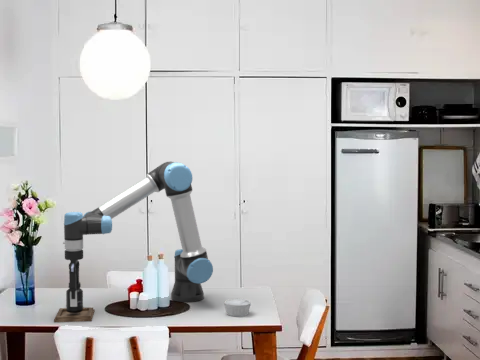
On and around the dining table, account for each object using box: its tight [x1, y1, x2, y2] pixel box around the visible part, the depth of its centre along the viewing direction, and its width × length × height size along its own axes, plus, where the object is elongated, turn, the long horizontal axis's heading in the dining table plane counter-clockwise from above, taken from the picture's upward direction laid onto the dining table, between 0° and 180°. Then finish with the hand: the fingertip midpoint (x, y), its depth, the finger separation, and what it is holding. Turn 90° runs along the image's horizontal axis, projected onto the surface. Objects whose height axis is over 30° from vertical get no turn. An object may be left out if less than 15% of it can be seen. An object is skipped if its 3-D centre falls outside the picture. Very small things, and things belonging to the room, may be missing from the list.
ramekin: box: [224, 298, 252, 317], centre depth 306 cm, size 11×11×5 cm
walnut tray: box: [53, 306, 96, 323], centre depth 301 cm, size 15×15×2 cm
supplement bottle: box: [65, 281, 84, 313], centre depth 300 cm, size 7×7×12 cm
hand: (74, 304), depth 300 cm, fingers closed on supplement bottle, 7 cm apart
